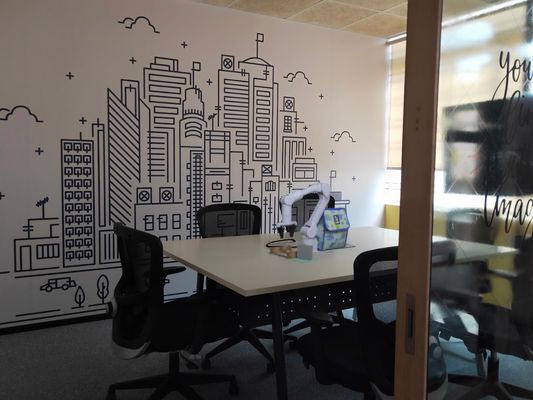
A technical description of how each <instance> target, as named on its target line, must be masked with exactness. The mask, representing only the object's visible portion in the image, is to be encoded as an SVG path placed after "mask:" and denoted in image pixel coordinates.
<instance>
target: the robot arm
mask: <svg viewBox="0 0 533 400" xmlns="http://www.w3.org/2000/svg"><path fill="white" fill-rule="evenodd" d="M331 191H332V187H331V184H329V182H320V181H319V182H316V183H313V184H311V185H309V186H307V187H306V188H303V189H302V190H300V189H294V191H293V192H287V194H283V195H282V196H281V197H280V199H279V202H280V203H281V222H278V223H276V224H275V225H276V227H275V228H276V230H277V232H278V235H279V239H281V240H283V239H284V235H285V229H286V227H288V232H289V238H294V234H295V232H296V229H297V226H298V225H297V224H298V223H297V221H296V220H295V221H292V205H293V204H294V203H295V202H297V201H299V200H302V199H303V197H304V196H306V195H308V194H312V193H314V192H316V194H317V195H318V197H319V200H318V202H317V204H316V206H315V208H314V210H313V212H312V214H311V216H310V217H309V220H308V221H307V222H304V225H303V226H302V227H301V228H300V230H299V232H300V235H301V244H306V245H312V246H313V251H312V254H313V253H318V252H319V251H318V248H317V243H318V242H317V239H316V238H315V235H316V230H317V223H318V221H319V219H320V217H321V215H322V213H323V211H324V210H325V208H327V206H328V204H329V202H330V198H331Z"/></svg>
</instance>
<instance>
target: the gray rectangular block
mask: <svg viewBox="0 0 533 400" xmlns="http://www.w3.org/2000/svg"><path fill="white" fill-rule="evenodd" d="M296 245H297V246H296V251H297V259H302V260H308V261H309V260H312V258H313V253H312V251H313V246H312V245H306V244H302V243H297V244H296ZM309 262H310V261H309Z"/></svg>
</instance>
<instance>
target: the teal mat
mask: <svg viewBox="0 0 533 400" xmlns="http://www.w3.org/2000/svg"><path fill="white" fill-rule="evenodd" d="M291 260H292V261H296V262H301V263H309V262H313V261H315V262H316V261H319V259H318V258H314V257H312V260H309V261H308V260H302V259H297V258H291Z"/></svg>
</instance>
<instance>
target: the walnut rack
mask: <svg viewBox="0 0 533 400" xmlns="http://www.w3.org/2000/svg"><path fill="white" fill-rule="evenodd" d="M290 250H292V251H293V252H286V251H290ZM269 254H270V255H274V256H278V257H281V258H284V259H287V260H292V259H295V258H297V250H293V249H292V245H291V244H290V245H282V246H273V247H270V248H269Z"/></svg>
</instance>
